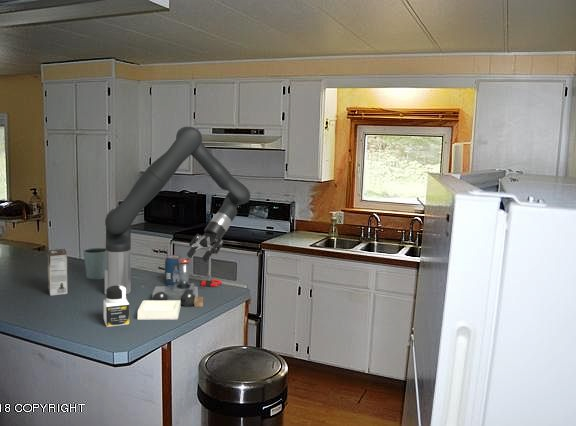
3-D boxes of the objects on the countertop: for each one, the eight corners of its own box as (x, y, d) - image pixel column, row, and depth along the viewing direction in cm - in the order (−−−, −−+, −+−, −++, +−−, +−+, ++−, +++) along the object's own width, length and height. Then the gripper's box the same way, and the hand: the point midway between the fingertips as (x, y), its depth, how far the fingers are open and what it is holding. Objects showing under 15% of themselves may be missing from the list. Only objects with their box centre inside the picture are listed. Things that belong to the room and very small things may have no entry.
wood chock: (194, 306, 180) (194, 298, 180) (194, 304, 182) (194, 296, 182) (202, 306, 180) (202, 298, 180) (203, 304, 183) (203, 296, 182)
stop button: (177, 291, 184) (178, 260, 182) (178, 288, 188) (178, 258, 186) (189, 291, 184) (189, 260, 183) (189, 288, 189) (190, 258, 187)
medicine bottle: (106, 327, 157) (106, 291, 155) (103, 320, 163) (103, 285, 161) (129, 324, 160) (129, 288, 158) (125, 317, 166) (125, 283, 165)
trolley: (151, 306, 178) (151, 291, 177) (155, 296, 190) (155, 282, 189) (195, 306, 180) (196, 291, 179) (197, 296, 192) (197, 282, 192)
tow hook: (205, 281, 216) (198, 286, 207) (206, 252, 215) (199, 255, 206) (223, 282, 215) (217, 287, 206) (225, 253, 214) (219, 257, 204)
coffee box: (47, 289, 193) (46, 249, 191) (65, 287, 196) (64, 248, 194) (49, 296, 185) (49, 254, 183) (68, 294, 189) (67, 253, 187)
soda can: (171, 281, 212) (172, 254, 210) (184, 283, 209) (185, 256, 208) (161, 284, 206) (161, 257, 204) (174, 287, 203) (175, 259, 201)
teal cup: (113, 276, 215) (113, 249, 214) (93, 281, 207) (93, 253, 205) (98, 272, 221) (98, 246, 219) (78, 277, 212) (78, 250, 211)
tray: (137, 319, 165) (137, 310, 164) (143, 308, 176) (143, 300, 175) (177, 319, 166) (177, 310, 166) (180, 308, 178) (180, 300, 177)
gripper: (201, 218, 199) (178, 249, 191) (226, 222, 190) (203, 255, 183) (210, 229, 204) (188, 261, 196) (235, 234, 195) (213, 267, 188)
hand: (196, 258), depth 190 cm, fingers open, 8 cm apart
